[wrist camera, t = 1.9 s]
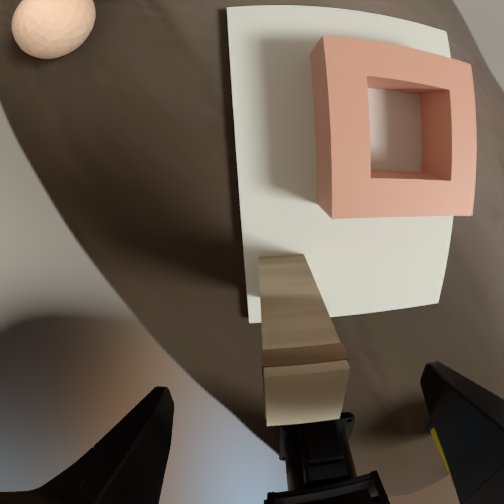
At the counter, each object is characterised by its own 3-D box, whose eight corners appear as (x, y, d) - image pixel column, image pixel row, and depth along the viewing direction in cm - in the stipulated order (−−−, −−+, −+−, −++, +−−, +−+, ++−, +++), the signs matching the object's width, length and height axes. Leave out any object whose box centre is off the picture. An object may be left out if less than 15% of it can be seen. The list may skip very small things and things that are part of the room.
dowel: (304, 295, 17) (340, 419, 9) (259, 298, 17) (265, 427, 9) (304, 253, 16) (351, 366, 8) (256, 256, 16) (262, 375, 8)
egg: (102, -10, 11) (56, -46, 6) (117, 40, 12) (64, 9, 7) (46, 27, 11) (-9, 8, 6) (56, 78, 13) (-5, 68, 8)
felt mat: (434, 299, 18) (438, 302, 18) (249, 318, 18) (249, 323, 18) (442, 33, 12) (446, 31, 11) (227, 11, 12) (226, 7, 12)
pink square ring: (442, 202, 15) (472, 215, 12) (317, 204, 15) (331, 219, 13) (440, 71, 12) (470, 64, 10) (309, 53, 13) (322, 35, 10)
